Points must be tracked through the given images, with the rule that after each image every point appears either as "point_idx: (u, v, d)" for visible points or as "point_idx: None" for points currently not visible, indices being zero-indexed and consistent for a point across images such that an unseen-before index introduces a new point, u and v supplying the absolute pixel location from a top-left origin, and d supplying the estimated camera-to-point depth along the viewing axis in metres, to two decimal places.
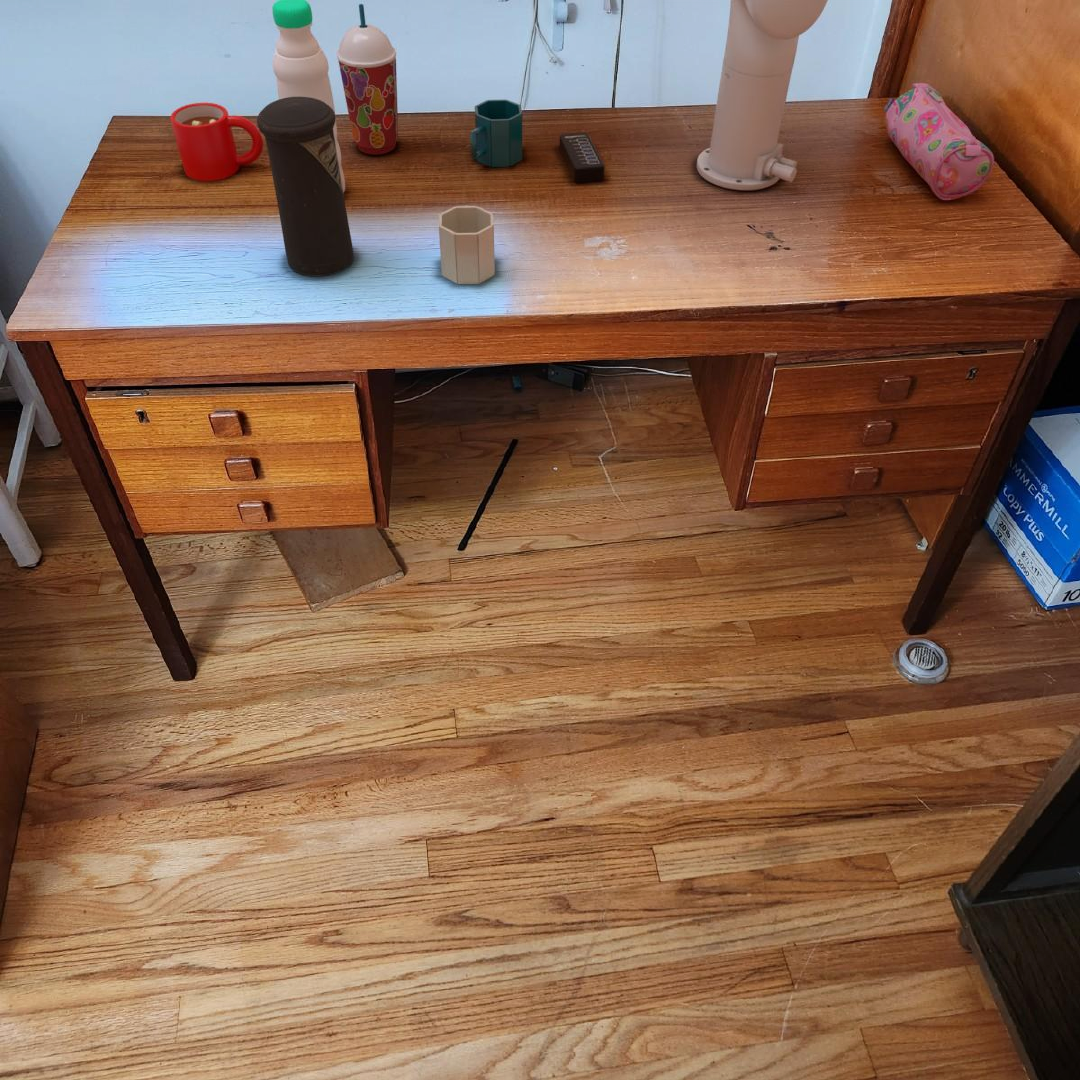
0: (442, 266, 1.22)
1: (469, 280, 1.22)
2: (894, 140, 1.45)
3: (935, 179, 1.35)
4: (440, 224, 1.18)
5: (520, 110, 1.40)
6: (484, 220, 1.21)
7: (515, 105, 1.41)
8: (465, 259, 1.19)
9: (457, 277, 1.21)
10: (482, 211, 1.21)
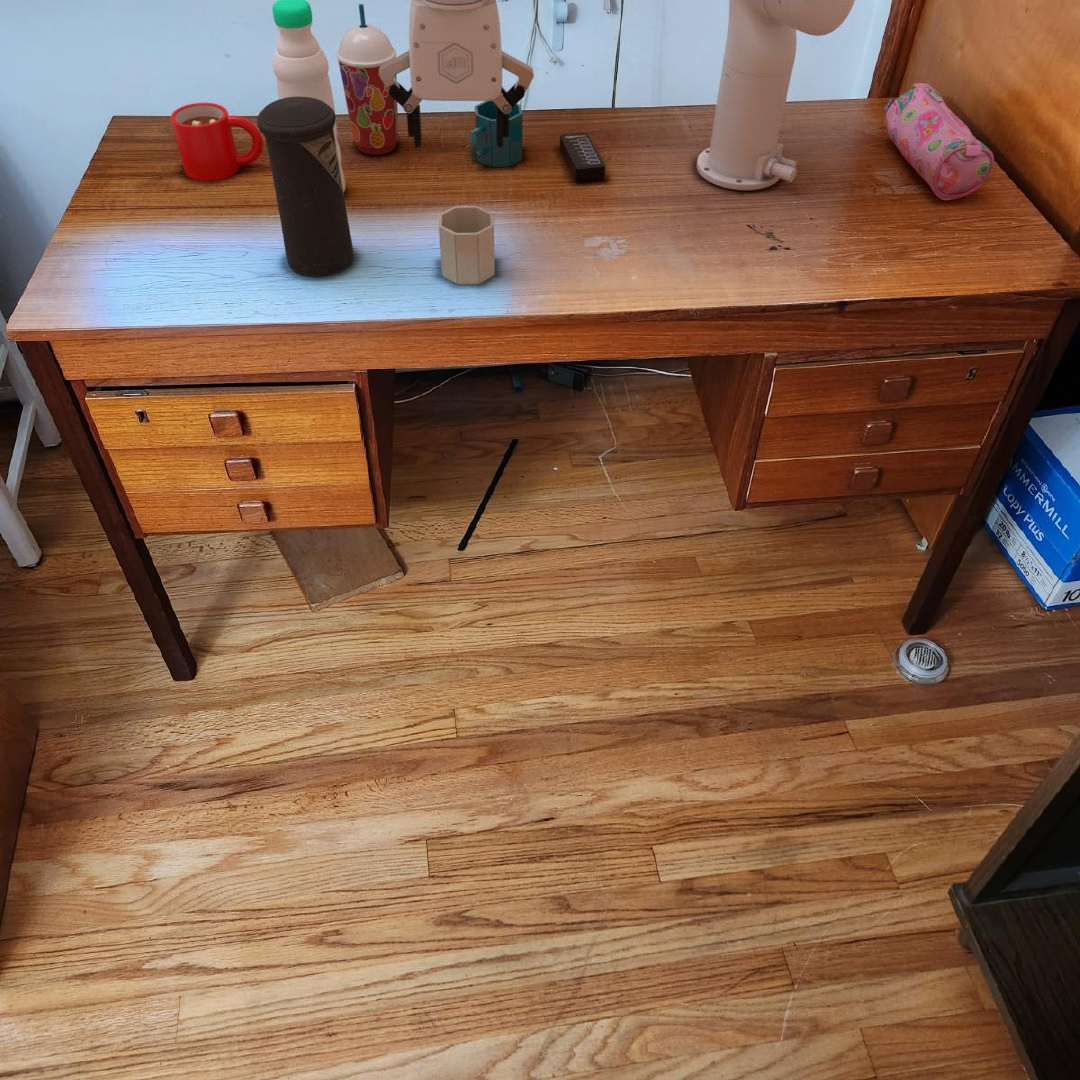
0: (442, 266, 1.22)
1: (469, 280, 1.22)
2: (894, 140, 1.45)
3: (935, 179, 1.35)
4: (440, 224, 1.18)
5: (520, 110, 1.40)
6: (484, 220, 1.21)
7: (515, 105, 1.41)
8: (465, 259, 1.19)
9: (457, 277, 1.21)
10: (482, 211, 1.21)
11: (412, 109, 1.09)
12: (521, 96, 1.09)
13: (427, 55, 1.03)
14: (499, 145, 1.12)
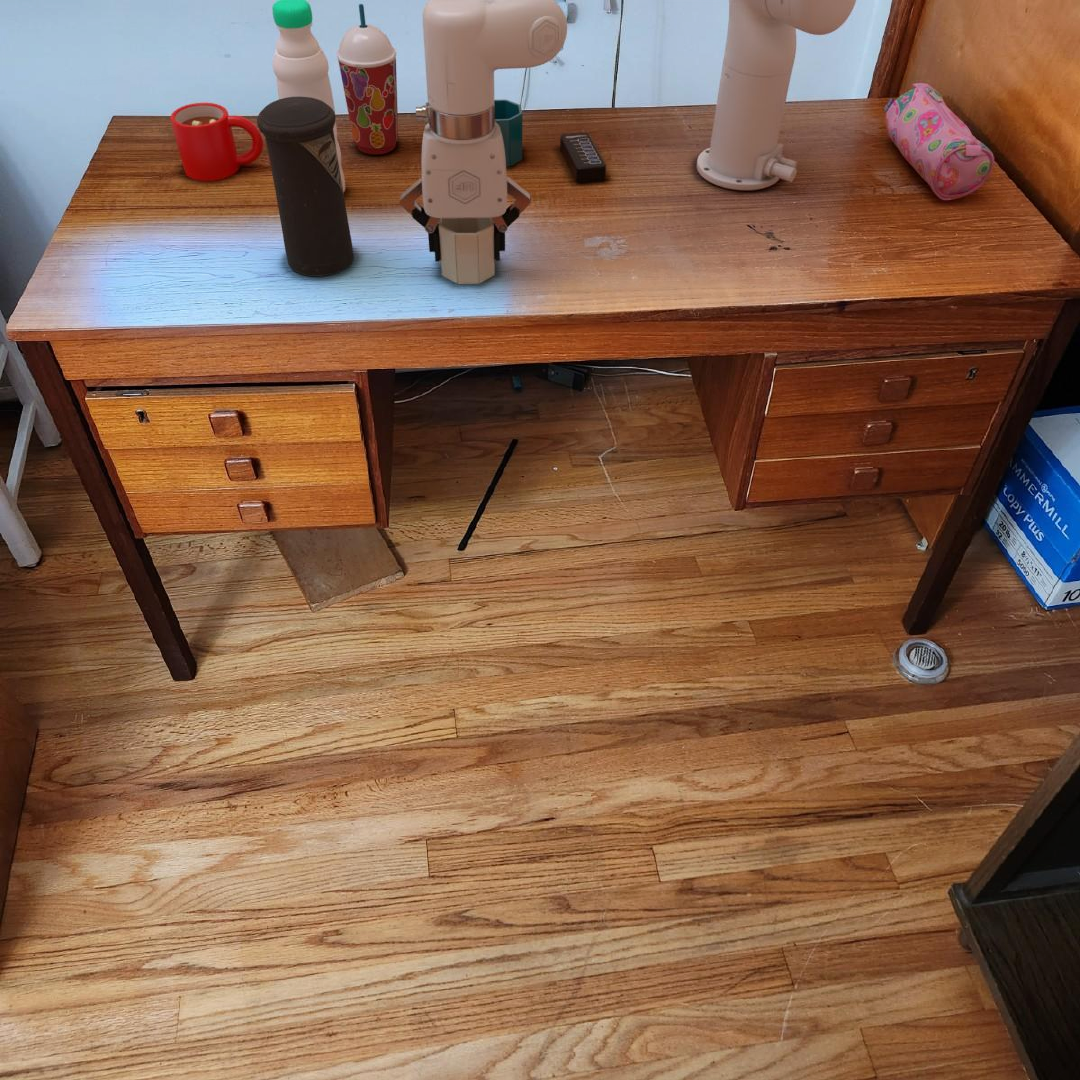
0: (442, 266, 1.22)
1: (469, 280, 1.22)
2: (894, 140, 1.45)
3: (935, 179, 1.35)
4: (440, 224, 1.18)
5: (520, 110, 1.40)
6: (484, 220, 1.21)
7: (515, 105, 1.41)
8: (465, 259, 1.19)
9: (457, 277, 1.21)
10: None
11: (433, 229, 1.19)
12: (516, 217, 1.18)
13: (438, 181, 1.12)
14: (496, 259, 1.22)
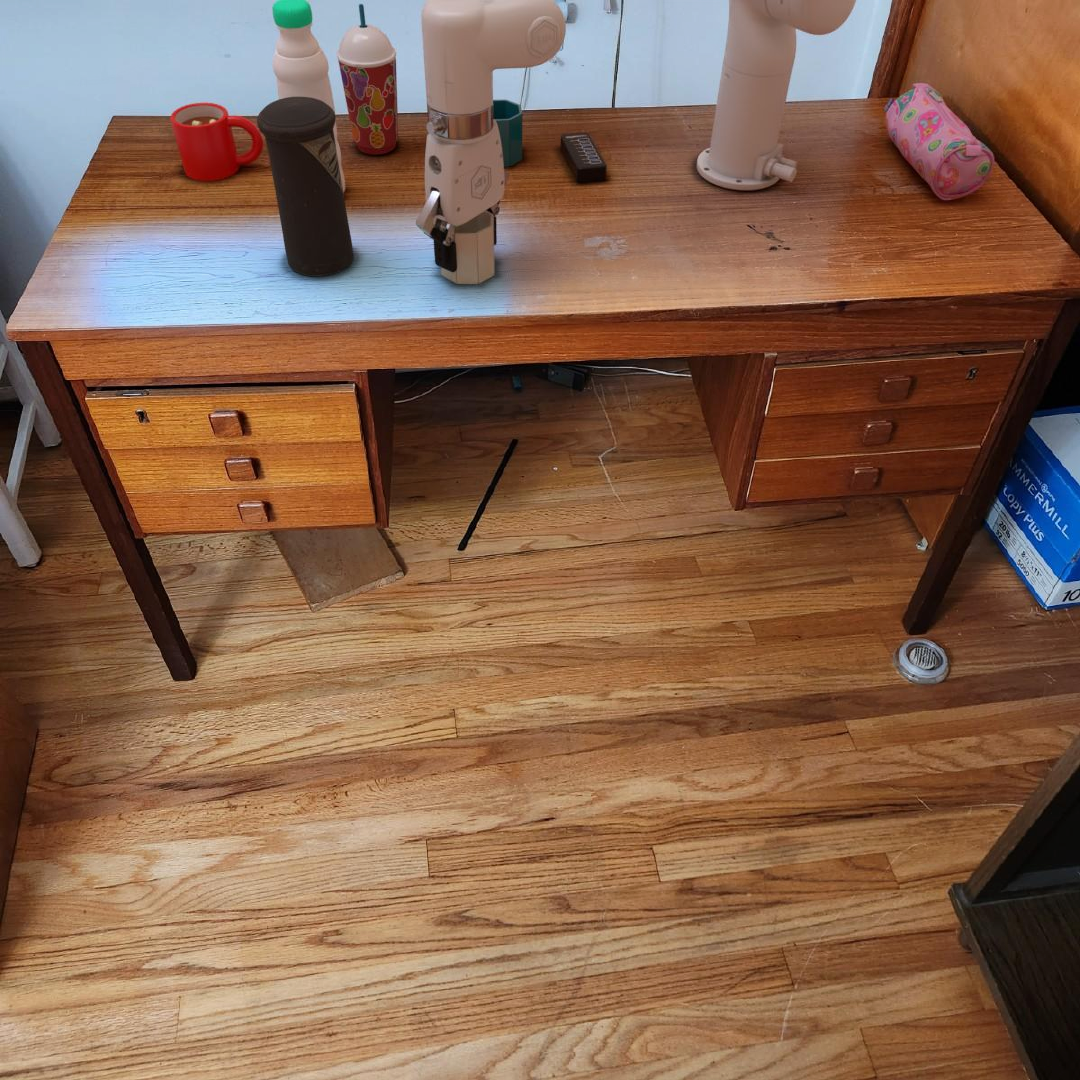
0: (457, 274, 1.21)
1: (487, 275, 1.23)
2: (894, 140, 1.45)
3: (935, 179, 1.35)
4: None
5: (520, 110, 1.40)
6: None
7: (515, 105, 1.41)
8: (484, 255, 1.20)
9: (478, 277, 1.22)
10: None
11: (450, 240, 1.17)
12: None
13: (464, 185, 1.12)
14: (494, 243, 1.24)
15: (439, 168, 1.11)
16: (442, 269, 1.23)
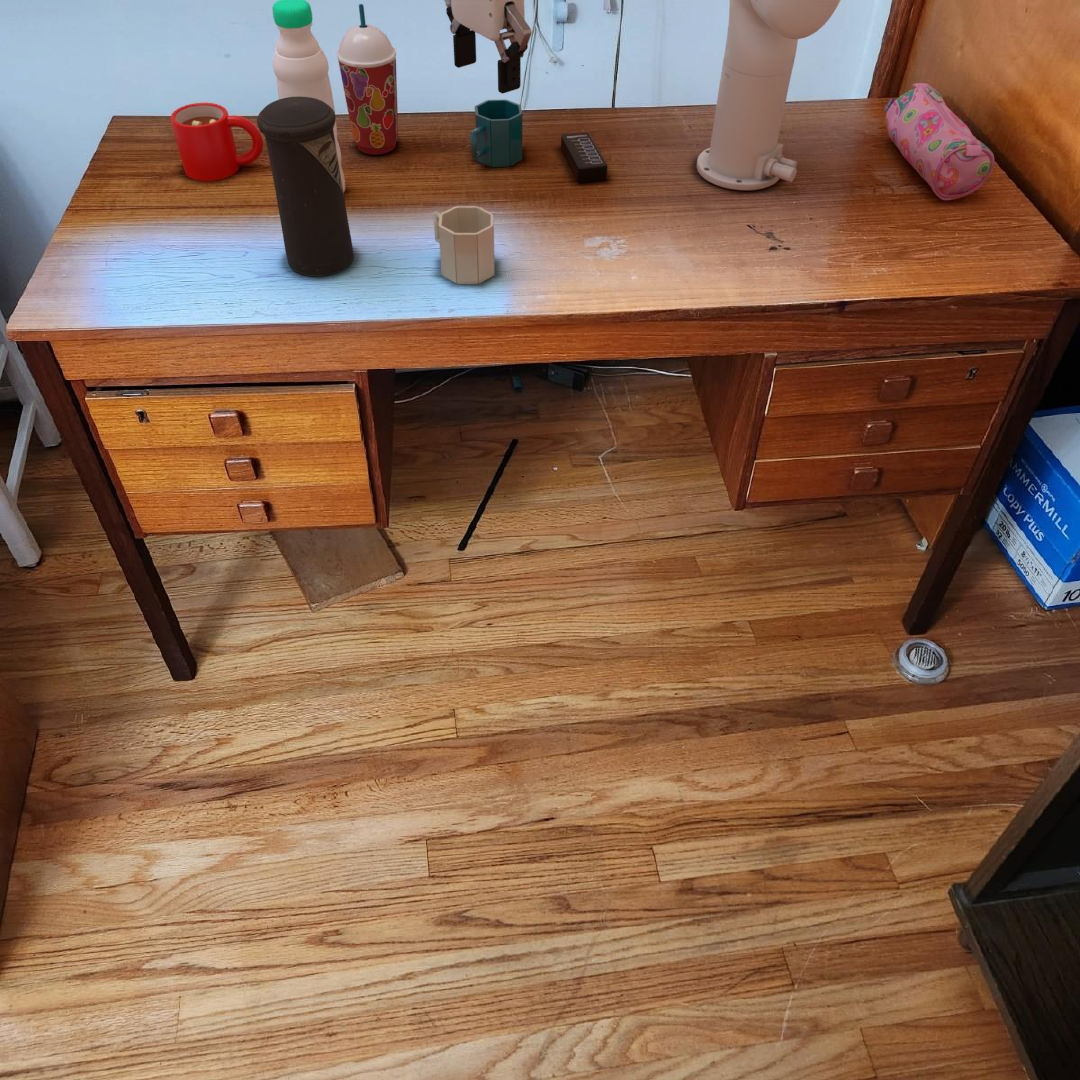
0: (457, 274, 1.21)
1: (487, 275, 1.23)
2: (894, 140, 1.45)
3: (935, 179, 1.35)
4: (453, 232, 1.17)
5: (520, 110, 1.40)
6: (469, 215, 1.22)
7: (515, 105, 1.41)
8: (484, 255, 1.20)
9: (478, 277, 1.22)
10: (465, 208, 1.21)
11: None
12: None
13: None
14: None
15: None
16: (442, 269, 1.23)
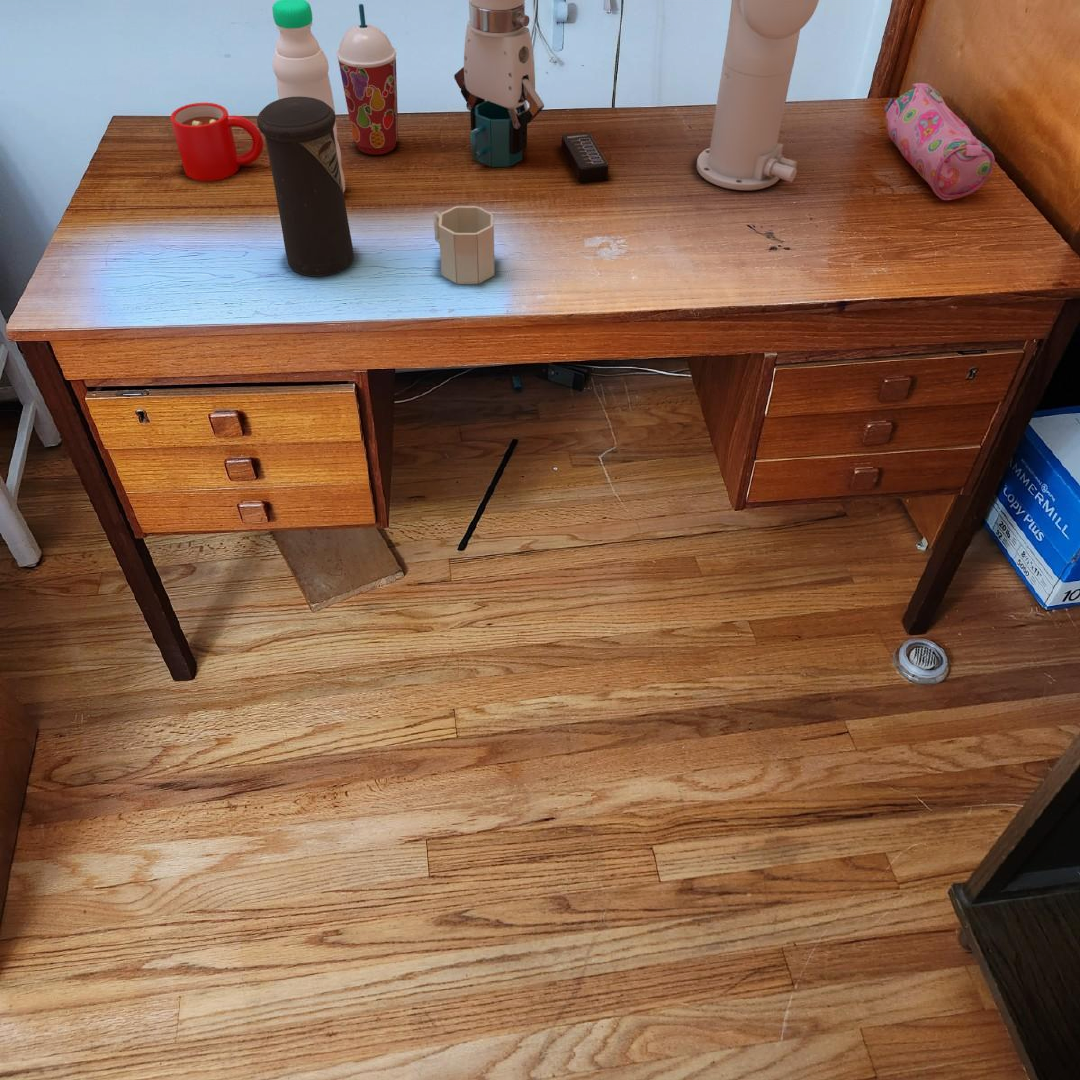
0: (457, 274, 1.21)
1: (487, 275, 1.23)
2: (894, 140, 1.45)
3: (935, 179, 1.35)
4: (453, 232, 1.17)
5: None
6: (469, 215, 1.22)
7: None
8: (484, 255, 1.20)
9: (478, 277, 1.22)
10: (465, 208, 1.21)
11: None
12: None
13: None
14: None
15: None
16: (442, 269, 1.23)
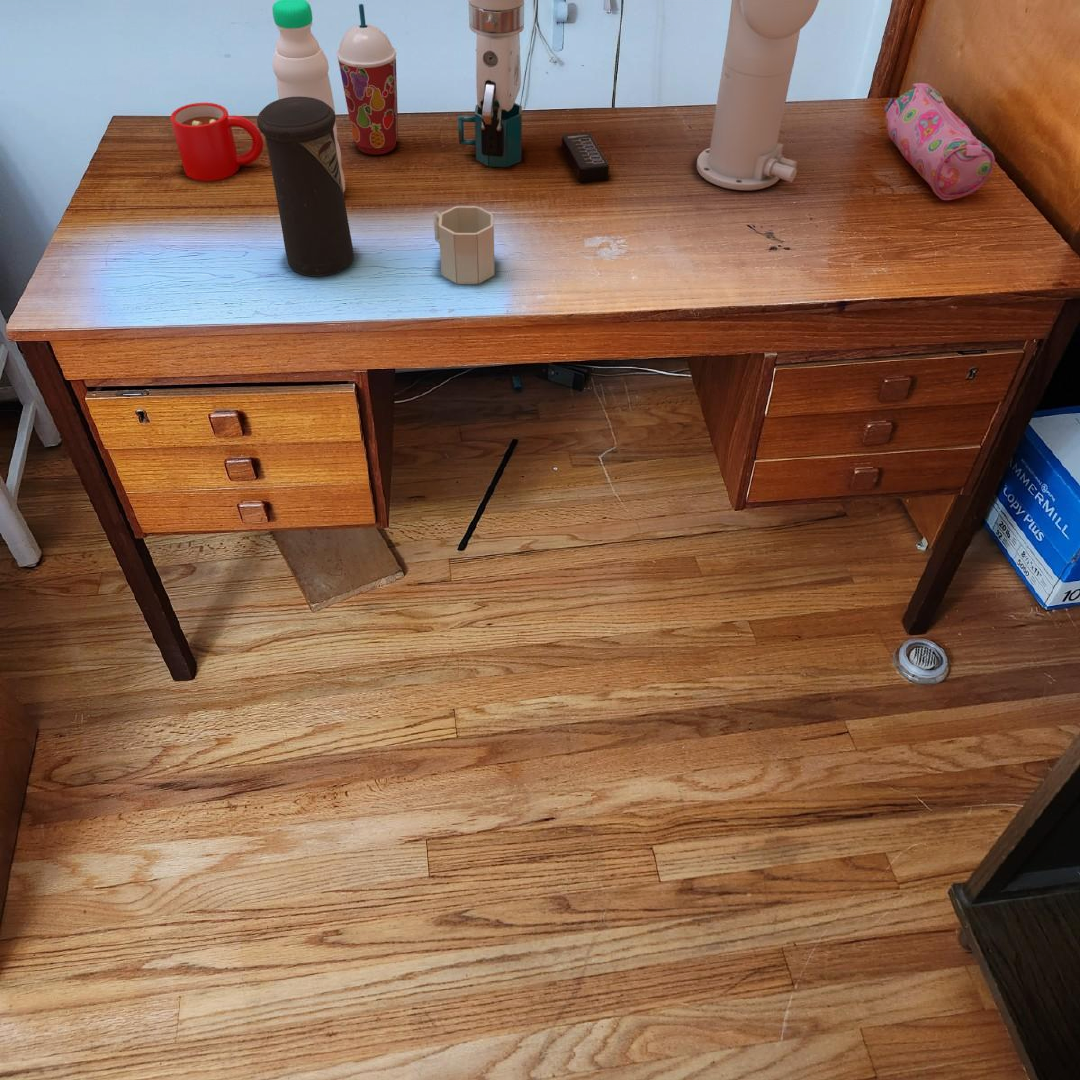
0: (457, 274, 1.21)
1: (487, 275, 1.23)
2: (894, 140, 1.45)
3: (935, 179, 1.35)
4: (453, 232, 1.17)
5: (511, 118, 1.38)
6: (469, 215, 1.22)
7: (518, 113, 1.39)
8: (484, 255, 1.20)
9: (478, 277, 1.22)
10: (465, 208, 1.21)
11: (500, 127, 1.37)
12: None
13: (512, 73, 1.33)
14: None
15: (489, 63, 1.31)
16: (442, 269, 1.23)
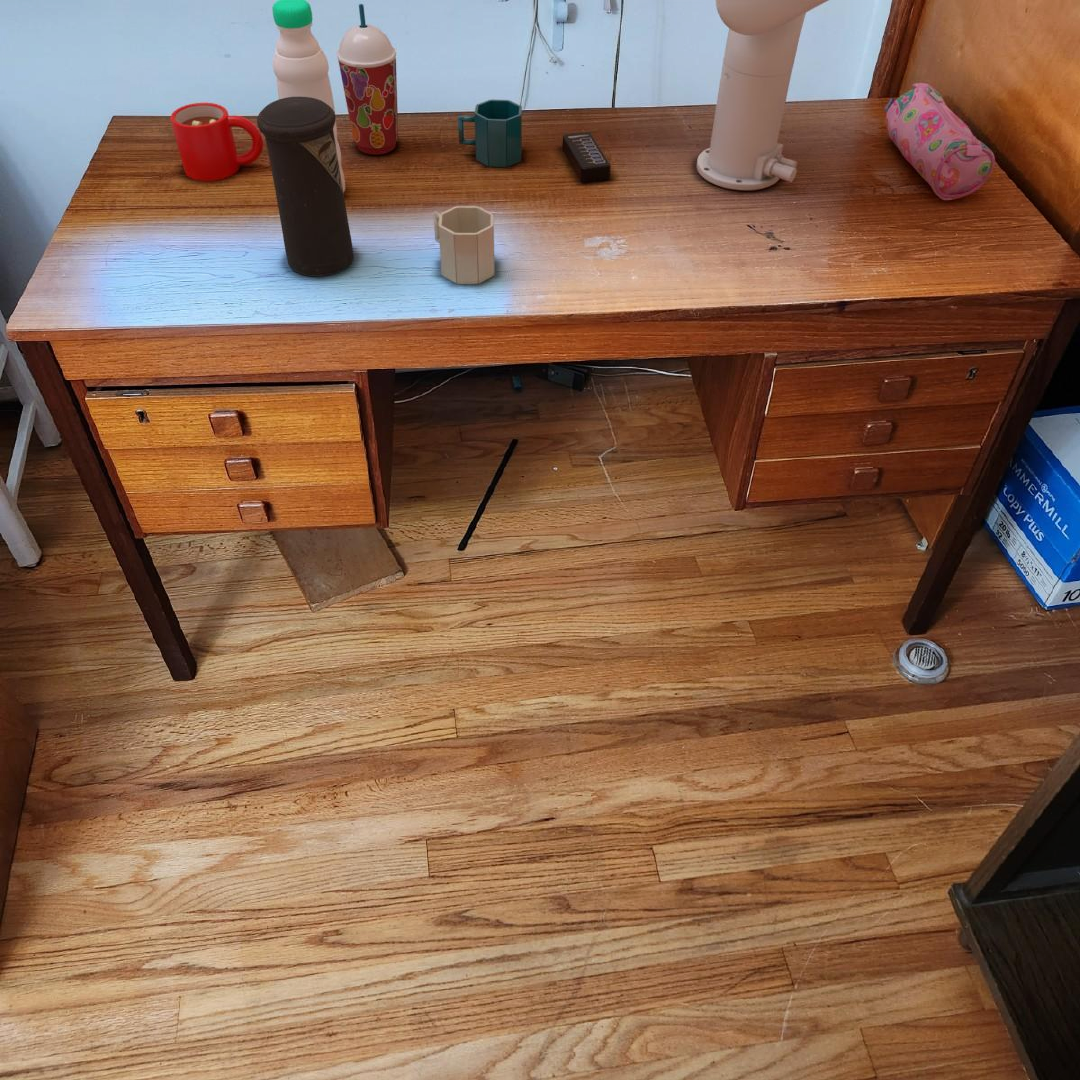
0: (457, 274, 1.21)
1: (487, 275, 1.23)
2: (894, 140, 1.45)
3: (936, 179, 1.35)
4: (453, 232, 1.17)
5: (510, 118, 1.38)
6: (469, 215, 1.22)
7: (518, 113, 1.39)
8: (484, 255, 1.20)
9: (478, 277, 1.22)
10: (465, 208, 1.21)
11: None
12: None
13: None
14: None
15: None
16: (442, 269, 1.23)
